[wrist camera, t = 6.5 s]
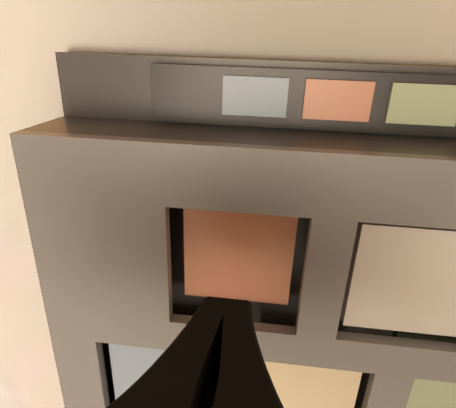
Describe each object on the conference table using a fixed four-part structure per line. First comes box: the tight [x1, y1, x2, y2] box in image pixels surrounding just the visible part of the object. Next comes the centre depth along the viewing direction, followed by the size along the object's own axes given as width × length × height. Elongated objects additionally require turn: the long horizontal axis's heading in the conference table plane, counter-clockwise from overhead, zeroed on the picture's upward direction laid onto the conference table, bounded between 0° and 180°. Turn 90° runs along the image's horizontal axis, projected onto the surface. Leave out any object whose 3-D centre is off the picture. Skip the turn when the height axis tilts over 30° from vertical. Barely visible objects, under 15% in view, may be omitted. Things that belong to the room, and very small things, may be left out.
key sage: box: [397, 332, 456, 408], centre depth 17 cm, size 4×4×2 cm
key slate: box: [109, 344, 165, 400], centre depth 17 cm, size 4×4×2 cm
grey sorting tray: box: [10, 52, 456, 408], centre depth 16 cm, size 22×18×4 cm
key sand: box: [264, 361, 362, 408], centre depth 17 cm, size 4×4×2 cm
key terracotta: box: [183, 209, 298, 305], centre depth 15 cm, size 4×4×2 cm
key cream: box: [340, 222, 456, 337], centre depth 14 cm, size 4×4×2 cm
